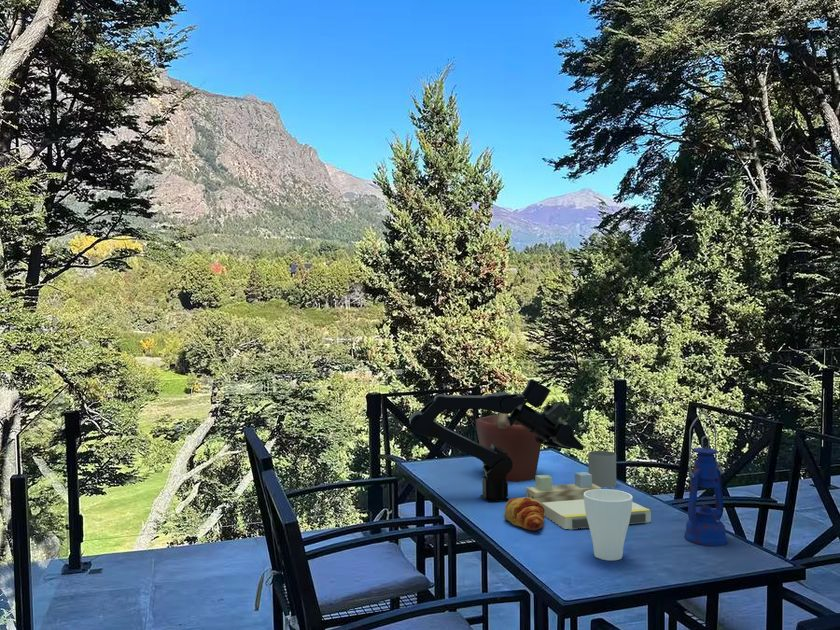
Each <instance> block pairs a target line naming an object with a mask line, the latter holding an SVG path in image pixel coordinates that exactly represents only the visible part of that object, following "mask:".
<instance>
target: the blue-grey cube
mask: <svg viewBox="0 0 840 630" xmlns="http://www.w3.org/2000/svg"><path fill="white" fill-rule="evenodd" d="M574 484H575V485H576V486H578V487H580V488H588V487H592V475H591V474H589V472H587V471H581V472H580V471H579V472H574Z"/></svg>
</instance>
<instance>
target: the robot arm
mask: <svg viewBox="0 0 840 630" xmlns="http://www.w3.org/2000/svg"><path fill="white" fill-rule="evenodd" d="M551 392H552V390H551V389H549V388H548V387H546V386H545V385H543V384H542V383H538V382H537V381H535V380H534V379H532V378H530V379H529V380H528V382H527V384H526V386H525V388H524V389H523V391H522V392H521V393H512V394H511V393H508V392H505V391H500V392H499V391H498V392H493V393H488V394H483V395H465V394H464V395H463V394H461V395H460V394H459V395H457V394H454V395H453V394H451V395H449V394H443V393H442V394H441V393H440V394H436V396H435V397H434V398H433V399H432V400H430V401H429V402H428V403H427V404H425V406H423V407H422V408H421V409H420V410H417V411H415V412H413V413H411V415H410V417H409V425H410V428H411V431H412V432H413V433H415V434H417V435H420V436H424V437H426V438H431V439H432V438H433V439H437V440H439V441H441V442H443V443H445V444H447V445H449V446H451V447H452V448H453V447H454V448H456V449H457V450H460V451H461V452H463V453H465V454H467V455H470V456H471V457H474V458H476V459H478V460H479V461H481V462H482V464H483V463H485V465H483V466H482V472H483V474H484V476H482V488H481V489H482V490H481V491H482V494H480V497H481V498H482V499H483V500H485V501H486V503H487V502H488V503H494V502H505V501H507V502H508V501H509V500H510V499H509V482H508V481H506V476H507V473H509V472H510V471H511V469H512V467H513V463H512V460H511V458H510V457H509V456H508V455H507V454H508V453H507V452H506V451H505V450H504V449H501V448H498V447H496V446H495V445H494V444H491V447H490V448H489V447H484V446H482V445H480V444H479V442H478V443H477V442H476V441H474V440H471V439H470V438H468V437H465V436H464V435H462V434H459V433H457V432H455V431H453V430H451V429H449V428H447V427H445V426H443V425H442V424H440V423H439V422H438V421H437V420H436V419H437V417H439V415H440V414H441V413H442V412H443V411H444V410H484V411H490V412H494V413H503V414H508V415H509V416H506V418H507V420H508V424H509V425H510V426H512V425H513V424H514V422H515V421H516V422H518V423H519V424H521V425H522V426H524V427H525V428H527V429H529V430H528V431H529V432H533V433H535V434H536V436H535V439H536V441H537V442H538V443H540V444H541V445H544V446H548V447H552V448H553V447H554V448H559V449H564V450H569V451H570V450H572V449H574V450H579V451H584V449H585V446H584V445H583V444H582V443H581V442H580V441H579V439H578V438H577V437H576V436H575V435H574V434H573V430H574V428H573V425H572V424H570V423H569V422H567V421H563V422H559V421H558V420H559V419H560V418H562V417H563V416H564V415H565V414H567V413H568V410H567V409H566V407H564V405H563V404H562V403H561V402H558V403H554V404H553V405H552V404H547V405H545V406H544V412H543V413H540V412H538V411H537V410H535V409H537V407H538V408H539V407H542V406H543V404H544V402H545V401H546V400H547V398H548V397H549V395H550V393H551ZM527 404H529V405H530V406H532V407H534V408H535V409H534V408H532V407H530V406H529V405H527ZM517 406H519V407H518V408H516V407H517ZM512 411H513V412H512ZM511 412H512V413H511ZM510 413H511V415H510Z"/></svg>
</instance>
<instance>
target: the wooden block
mask: <svg viewBox="0 0 840 630" xmlns="http://www.w3.org/2000/svg"><path fill="white" fill-rule="evenodd" d="M525 489H526V493H525V494H526V498H532V499H534V500H537V501H538V502H540V503H543V502H556V501H569V500H581V499H584V492H586V491H588V490H593V489H601V487H599V486H597V485H594V484H592V487H588V488H580V487H578V486H576V485H575V483H570V484H569V483H567V484H555V485H554V484H552V490H548V491H540V490H538V489H537V488H536V486H527V487H526V488H525Z"/></svg>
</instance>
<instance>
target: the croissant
mask: <svg viewBox="0 0 840 630" xmlns="http://www.w3.org/2000/svg"><path fill="white" fill-rule="evenodd" d="M544 512H545V509H544V507H543V506H542V504H541V503H540V502H538V501H537V500H534V499H532V498H527V497H513V498H510V499H509V500H508V501H507V502H506V504H505V506H504V519H505V520H506V521H508V522H509V523H510V524H511V523H512V525H514V526H516V527H520V528H522V529H525V530H529V531H537V530H539V529H542V527H543V526H544V524H545V518H546V517H545V516H544Z"/></svg>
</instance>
